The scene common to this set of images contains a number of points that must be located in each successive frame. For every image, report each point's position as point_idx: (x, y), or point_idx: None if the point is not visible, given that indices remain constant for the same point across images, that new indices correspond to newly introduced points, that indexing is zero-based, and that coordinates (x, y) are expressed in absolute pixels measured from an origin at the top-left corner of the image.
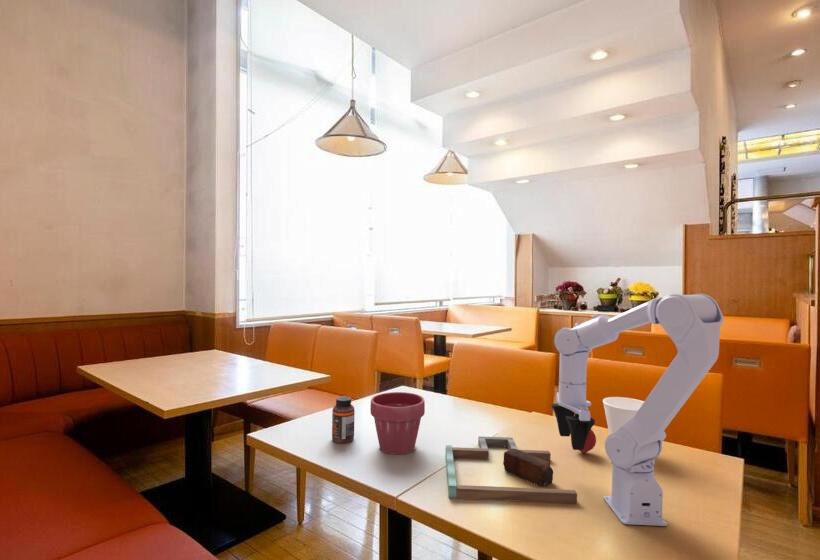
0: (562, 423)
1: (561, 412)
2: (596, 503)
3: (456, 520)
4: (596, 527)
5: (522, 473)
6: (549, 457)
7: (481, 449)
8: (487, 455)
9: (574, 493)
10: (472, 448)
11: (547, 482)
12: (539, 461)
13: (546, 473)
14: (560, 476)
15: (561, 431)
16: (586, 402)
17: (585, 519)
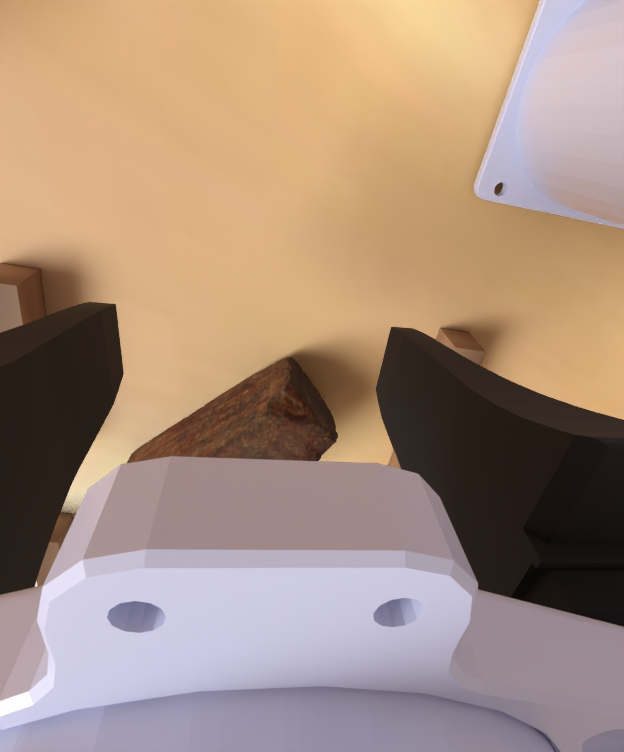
0: (71, 432)
1: (17, 549)
2: (491, 250)
3: None
4: (616, 338)
5: None
6: (29, 282)
7: (46, 560)
8: (65, 528)
9: (479, 360)
10: (43, 583)
11: (316, 390)
12: (273, 456)
13: (327, 423)
14: (228, 292)
15: (110, 394)
16: (391, 683)
17: (563, 350)
